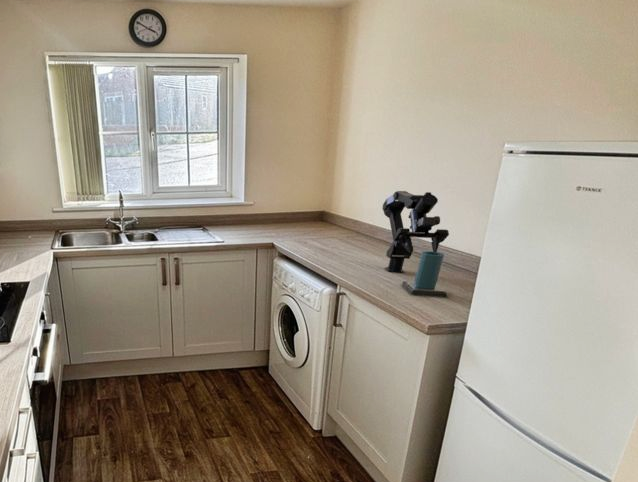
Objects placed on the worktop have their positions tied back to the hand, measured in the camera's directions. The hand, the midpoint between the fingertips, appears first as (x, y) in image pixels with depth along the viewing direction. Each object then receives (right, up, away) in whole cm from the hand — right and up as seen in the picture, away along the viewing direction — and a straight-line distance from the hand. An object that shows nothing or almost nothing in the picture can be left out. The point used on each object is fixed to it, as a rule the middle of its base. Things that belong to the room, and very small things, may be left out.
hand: (422, 252), depth 184 cm
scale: (-1, -16, -2) cm, 16 cm away
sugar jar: (-2, -14, -4) cm, 14 cm away
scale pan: (-2, -15, -4) cm, 15 cm away
